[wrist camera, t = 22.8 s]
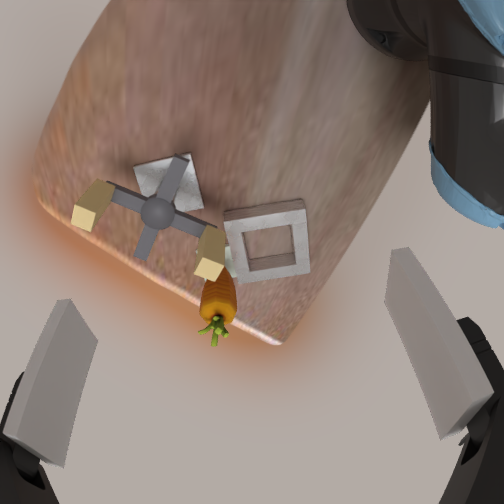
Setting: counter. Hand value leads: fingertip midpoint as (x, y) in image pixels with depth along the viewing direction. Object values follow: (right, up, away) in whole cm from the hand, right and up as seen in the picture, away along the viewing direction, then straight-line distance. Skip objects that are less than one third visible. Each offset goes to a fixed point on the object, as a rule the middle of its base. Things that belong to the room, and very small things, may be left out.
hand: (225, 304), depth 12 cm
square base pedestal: (-10, +11, +30) cm, 34 cm away
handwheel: (-10, +7, +25) cm, 28 cm away
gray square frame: (+3, +4, +36) cm, 37 cm away
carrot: (-4, 0, +38) cm, 38 cm away
